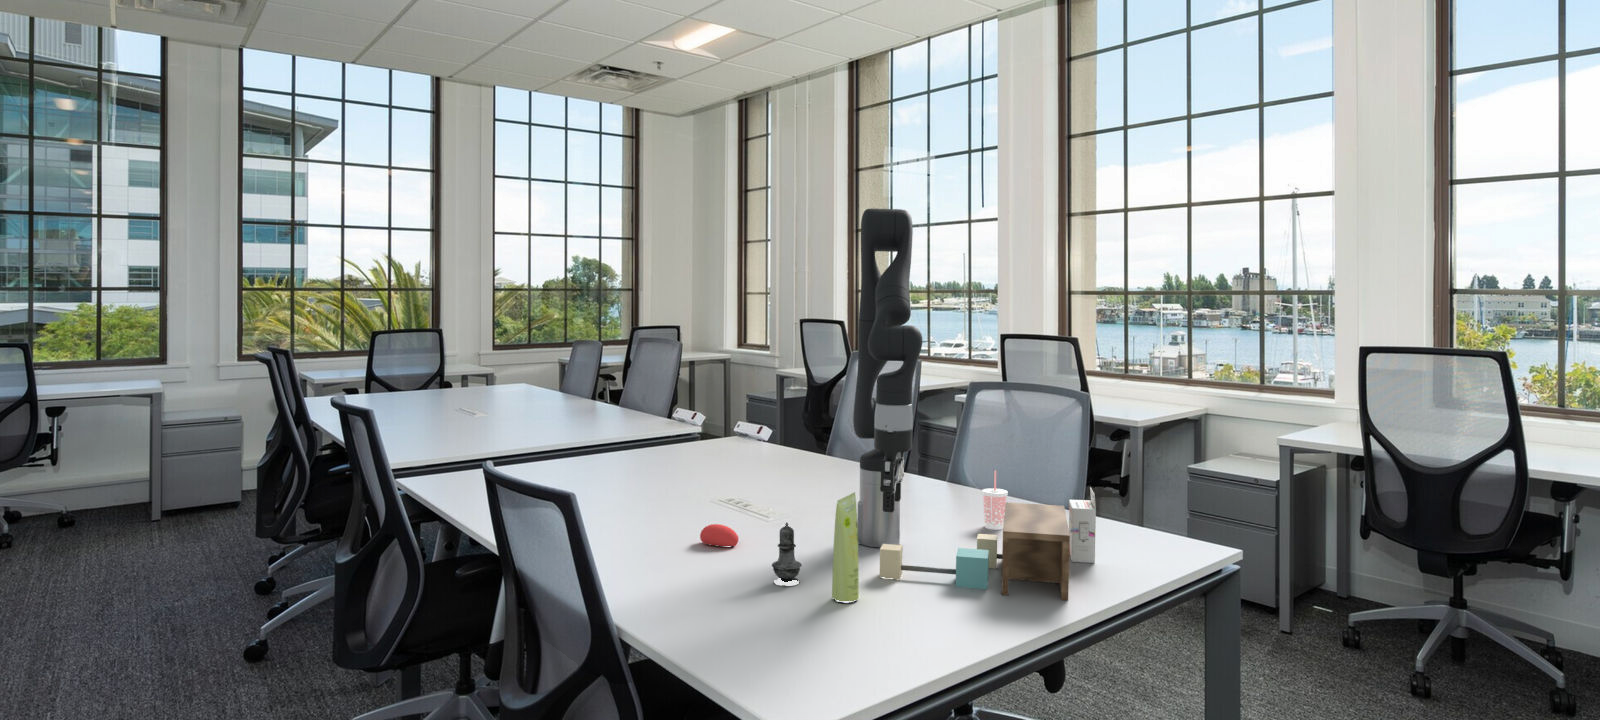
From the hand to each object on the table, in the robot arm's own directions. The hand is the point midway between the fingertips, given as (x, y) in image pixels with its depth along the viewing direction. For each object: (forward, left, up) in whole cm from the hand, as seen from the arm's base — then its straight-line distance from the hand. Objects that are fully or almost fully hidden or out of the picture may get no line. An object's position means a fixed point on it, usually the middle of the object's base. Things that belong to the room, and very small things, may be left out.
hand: (891, 506), depth 176 cm
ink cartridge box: (+38, +24, -15) cm, 47 cm away
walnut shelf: (+28, +6, -14) cm, 32 cm away
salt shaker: (-19, -9, -15) cm, 26 cm away
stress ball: (-41, +12, -15) cm, 45 cm away
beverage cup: (+19, +45, -15) cm, 51 cm away
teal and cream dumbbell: (+9, 0, -14) cm, 17 cm away
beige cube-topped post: (+24, +13, -14) cm, 31 cm away
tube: (-6, -16, -14) cm, 23 cm away
